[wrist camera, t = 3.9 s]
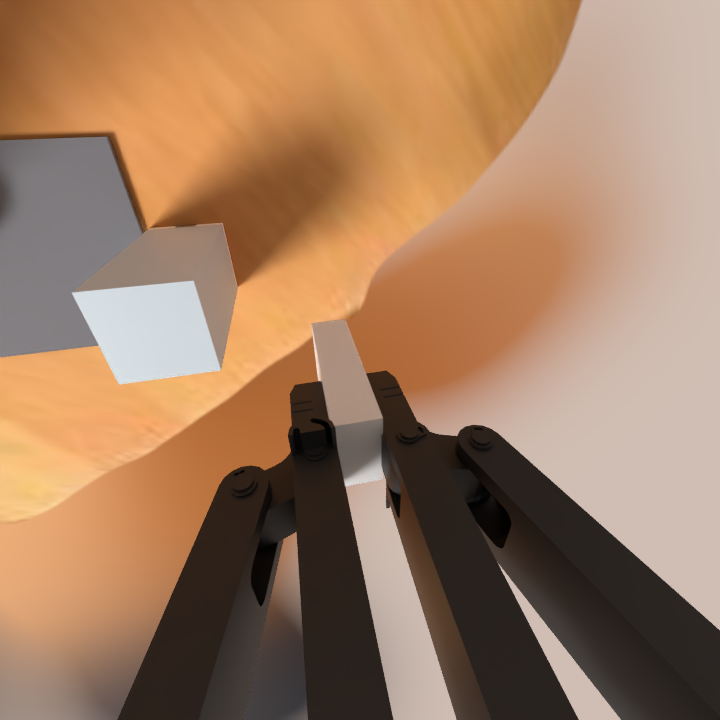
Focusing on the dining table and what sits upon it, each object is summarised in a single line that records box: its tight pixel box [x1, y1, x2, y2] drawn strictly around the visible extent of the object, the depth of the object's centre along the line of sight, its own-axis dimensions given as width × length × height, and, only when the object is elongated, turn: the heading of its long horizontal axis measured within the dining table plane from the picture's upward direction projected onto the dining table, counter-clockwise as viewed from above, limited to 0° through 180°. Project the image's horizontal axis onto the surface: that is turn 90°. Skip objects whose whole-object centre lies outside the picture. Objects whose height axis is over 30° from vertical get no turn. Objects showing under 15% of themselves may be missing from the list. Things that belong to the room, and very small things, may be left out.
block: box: [72, 223, 238, 384], centre depth 22 cm, size 5×5×12 cm
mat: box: [0, 136, 143, 357], centre depth 24 cm, size 14×13×1 cm
